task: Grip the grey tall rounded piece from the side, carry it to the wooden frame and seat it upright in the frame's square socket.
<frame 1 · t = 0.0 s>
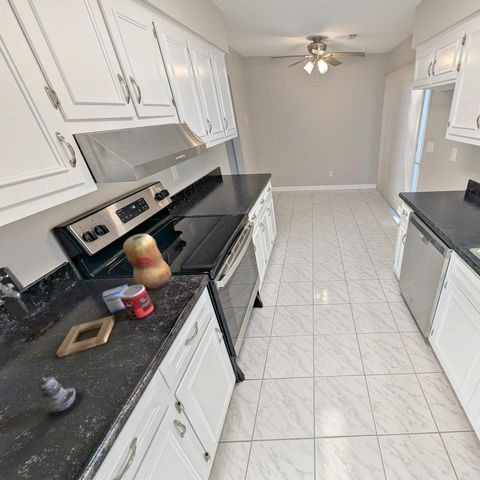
hand: (9, 328, 49), 31 cm above the worktop, tool pointing down, fingers open, 8 cm apart
butternut squash: (157, 286, 115), on the worktop
grey tall rounded piece: (67, 407, 67), on the worktop
canned food: (142, 313, 99), on the worktop
medicine box: (123, 307, 103), on the worktop
wooden frame: (90, 337, 89), on the worktop
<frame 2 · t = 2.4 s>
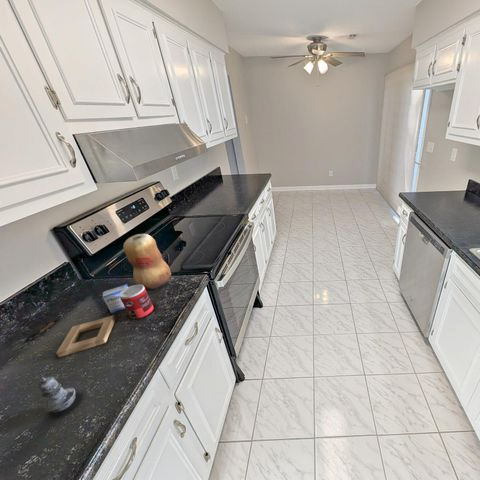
nothing on the worktop moved.
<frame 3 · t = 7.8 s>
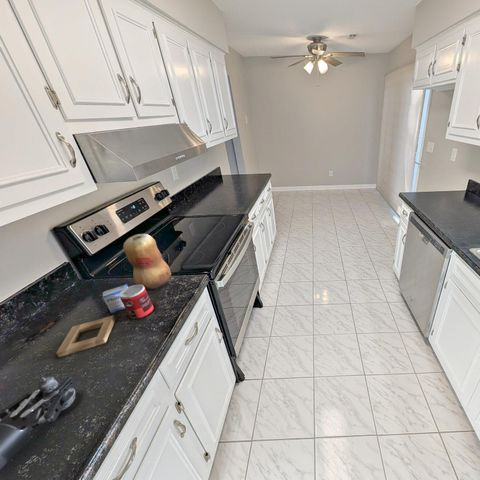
hand: (64, 378, 67), 7 cm above the worktop, tool horizontal, fingers closed on grey tall rounded piece, 3 cm apart
grey tall rounded piece: (67, 407, 67), on the worktop, touching gripper
everything else where it was.
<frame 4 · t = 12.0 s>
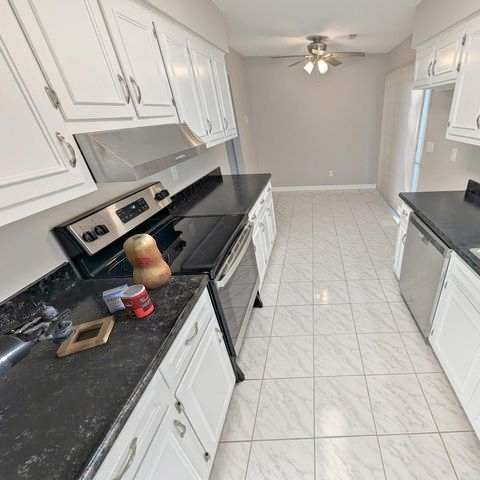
hand: (63, 311, 75), 18 cm above the worktop, tool horizontal, fingers closed on grey tall rounded piece, 3 cm apart
grey tall rounded piece: (65, 337, 75), point 10 cm above the worktop, touching gripper
everything else where it was.
when the fingers open (7 cm above the worktop, at t = 16.6 s): grey tall rounded piece stays where it is, resting in wooden frame.
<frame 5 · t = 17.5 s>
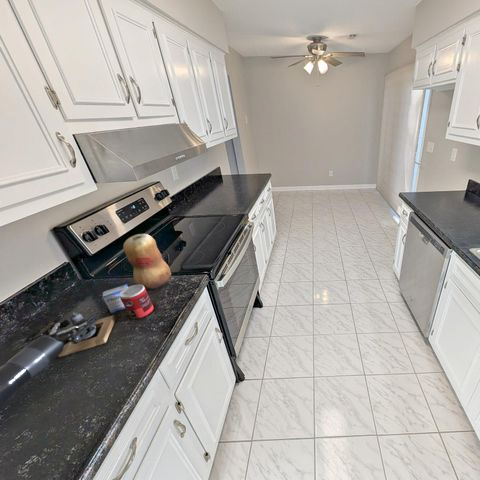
hand: (84, 316, 87), 8 cm above the worktop, tool horizontal, fingers open, 8 cm apart
grey tall rounded piece: (90, 339, 88), resting in wooden frame
everything else where it was.
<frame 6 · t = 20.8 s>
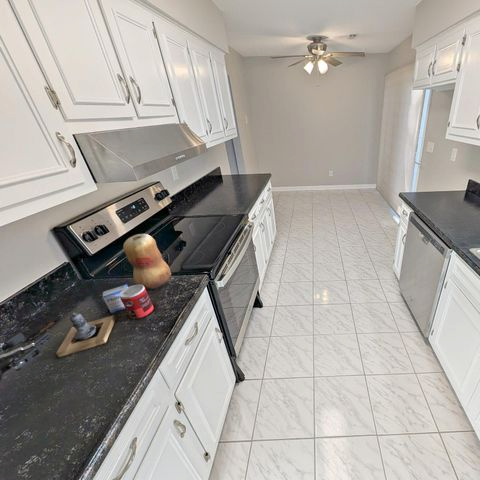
hand: (35, 335, 73), 13 cm above the worktop, tool horizontal, fingers open, 8 cm apart
nothing on the worktop moved.
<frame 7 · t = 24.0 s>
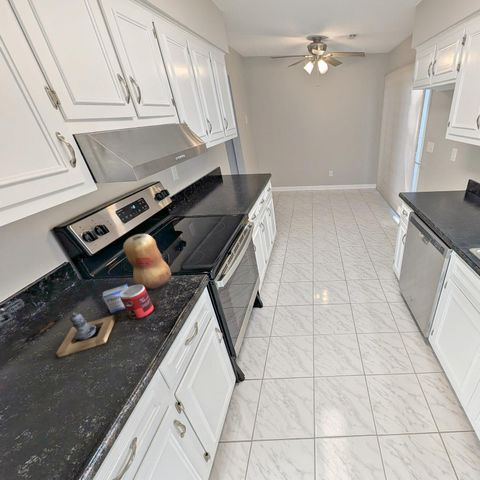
hand: (7, 301, 67), 26 cm above the worktop, tool horizontal, fingers open, 8 cm apart
nothing on the worktop moved.
at the end: grey tall rounded piece 0.5 cm off-centre in the wooden frame, point 0.0 cm above the wooden frame's base; grey tall rounded piece tilted 0°; the gripper is holding nothing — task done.
